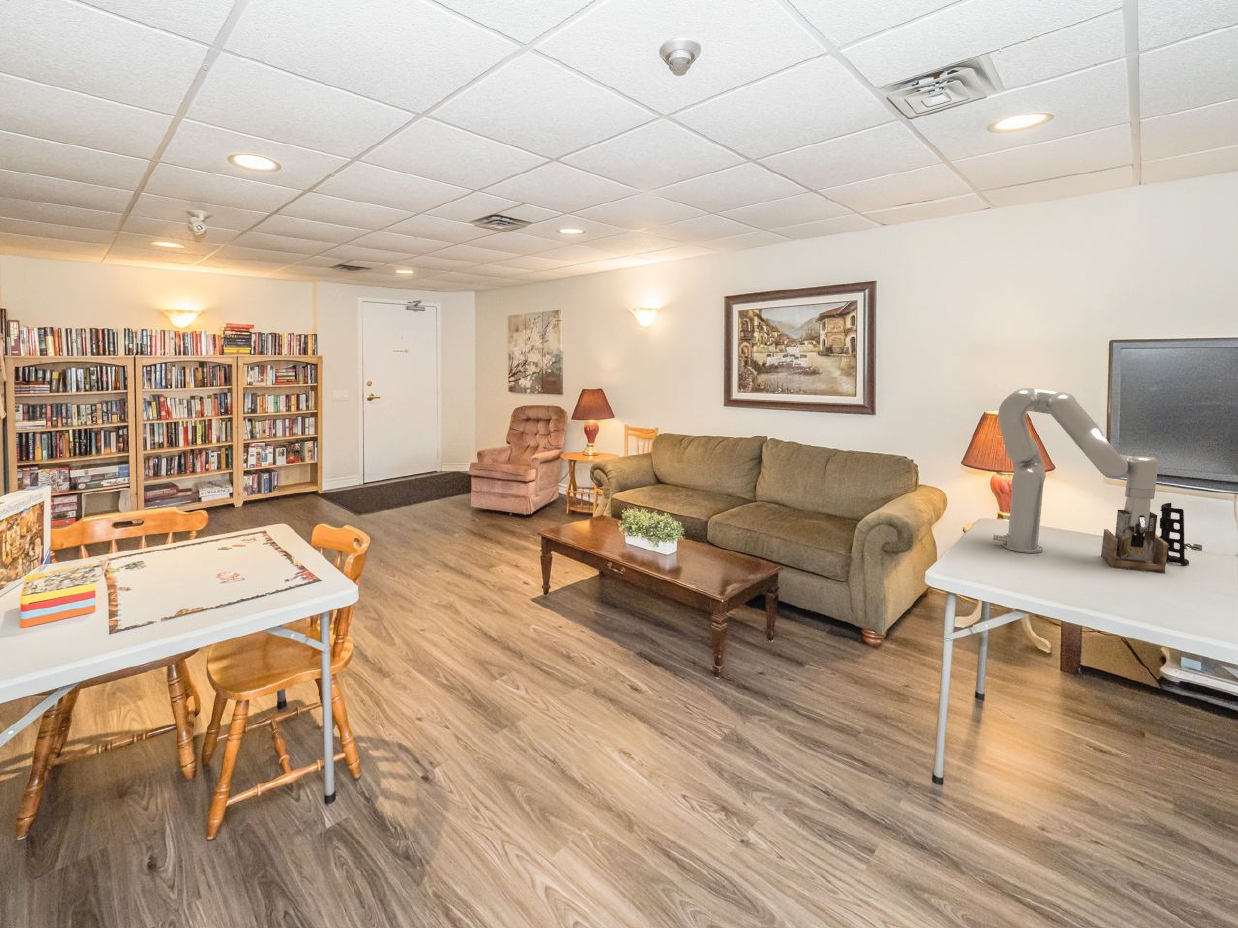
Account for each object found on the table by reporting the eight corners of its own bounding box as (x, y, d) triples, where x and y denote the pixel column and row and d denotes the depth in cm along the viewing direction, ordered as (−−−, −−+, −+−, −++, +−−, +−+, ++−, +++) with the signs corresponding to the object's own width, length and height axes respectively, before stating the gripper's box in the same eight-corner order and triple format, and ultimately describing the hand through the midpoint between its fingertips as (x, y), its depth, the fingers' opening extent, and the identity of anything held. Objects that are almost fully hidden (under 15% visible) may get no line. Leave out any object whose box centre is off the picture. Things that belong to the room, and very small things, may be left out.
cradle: (1110, 567, 204) (1114, 538, 203) (1101, 555, 217) (1104, 529, 215) (1164, 573, 198) (1168, 543, 197) (1151, 561, 210) (1154, 533, 209)
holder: (1198, 565, 204) (1198, 508, 201) (1172, 566, 205) (1172, 509, 203) (1175, 556, 214) (1175, 501, 212) (1150, 557, 216) (1150, 503, 214)
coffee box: (1144, 556, 208) (1150, 510, 206) (1153, 561, 202) (1159, 515, 200) (1112, 553, 212) (1117, 509, 209) (1119, 558, 206) (1124, 513, 203)
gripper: (1119, 487, 213) (1113, 536, 216) (1133, 497, 198) (1126, 549, 200) (1146, 489, 209) (1140, 538, 212) (1162, 498, 194) (1156, 552, 197)
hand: (1133, 543), depth 206 cm, fingers closed on coffee box, 6 cm apart
